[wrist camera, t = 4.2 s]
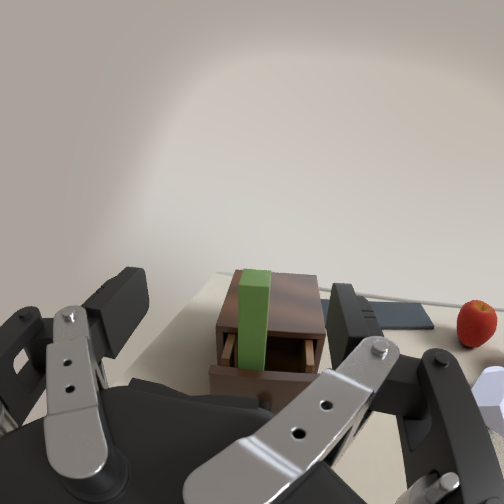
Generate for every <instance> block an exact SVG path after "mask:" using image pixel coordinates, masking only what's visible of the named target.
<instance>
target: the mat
mask: <svg viewBox="0 0 504 504" xmlns="http://www.w3.org/2000/svg"><path fill="white" fill-rule="evenodd" d="M329 302H330V300H328V299H321V305H322V311H323V317H324V324H325V328H326V320H327V313H328V307H329ZM369 302H370V303H371V305H372V308H373V310H374V313H375V315H376V319H377V320H378V322H379V325H380V327H381V329H434V325H433V323H432V321H431V320H430V318H429V317H428V315H427V313H426V312H425V310H424V309H423V307H422V306H421V304H420V303H402V302H371V301H369Z"/></svg>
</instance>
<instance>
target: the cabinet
mask: <svg viewBox="0 0 504 504" xmlns="http://www.w3.org/2000/svg"><path fill="white" fill-rule="evenodd" d="M242 272H243V270H235V273H234V275H233V278H232V281H231V284H230V287H229V289H228V292H227V295H226V298H225V301H224V304H223V306H222V309H221V312H220V315H219V318H218V320H217V323H216V344H217V363H218V366H222V360H221V358H222V354H223V351H224V347H225V344H226V340H227V336H228V333H238V285H239V281H240V278H241V275H242ZM267 336H273V337H288V338H304V339H312V342H313V354H314V369H313V373H314V374H317V372H318V368H319V364H320V359H321V355H322V351H323V346H324V342H325V337H326V330H325V324H324V317H323V311H322V305H321V299H320V294H319V288H318V283H317V277H316V275H303V274H289V273H274V272H271V285H270V300H269V314H268V327H267Z"/></svg>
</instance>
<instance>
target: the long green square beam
mask: <svg viewBox="0 0 504 504" xmlns="http://www.w3.org/2000/svg"><path fill="white" fill-rule="evenodd" d="M270 285H271V271H267V270H252V269H243V272H242V275H241V278H240V281H239V285H238V368H242V369H252V370H264V366H265V354H266V341H267V327H268V314H269V300H270Z"/></svg>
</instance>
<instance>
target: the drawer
mask: <svg viewBox="0 0 504 504" xmlns="http://www.w3.org/2000/svg"><path fill="white" fill-rule="evenodd" d="M221 360H222V366H216V365H211V368H210V371H209V381H210V391H211V395H223V394H227V395H235V396H245V397H255V398H259V404H258V407H259V408H262V409H265V410H268V411H270V412H272V413H274V414H276V415H277V414H278V413H279V412H280V411H281V410H283V409H284V408H285V407H286V406H287V405H288V404H289V403H290V402H292V401H293V400H294V399H295V398H296V397H297V396H298V395H299V394H300V393H301V392H302V391H304V390H305V389H306V388H307V387H308V386H309V385H310V384H311V383H312V382H313V381H314V380H315V379H316V378H317V377H318V376H319V375H320V374H314V373H313V369H314V354H313V342H312V339H304V338H288V337H273V336H267V341H266V354H265V366H264V370H252V369H242V368H238V333H228V336H227V340H226V344H225V347H224V351H223V354H222V358H221Z"/></svg>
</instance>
